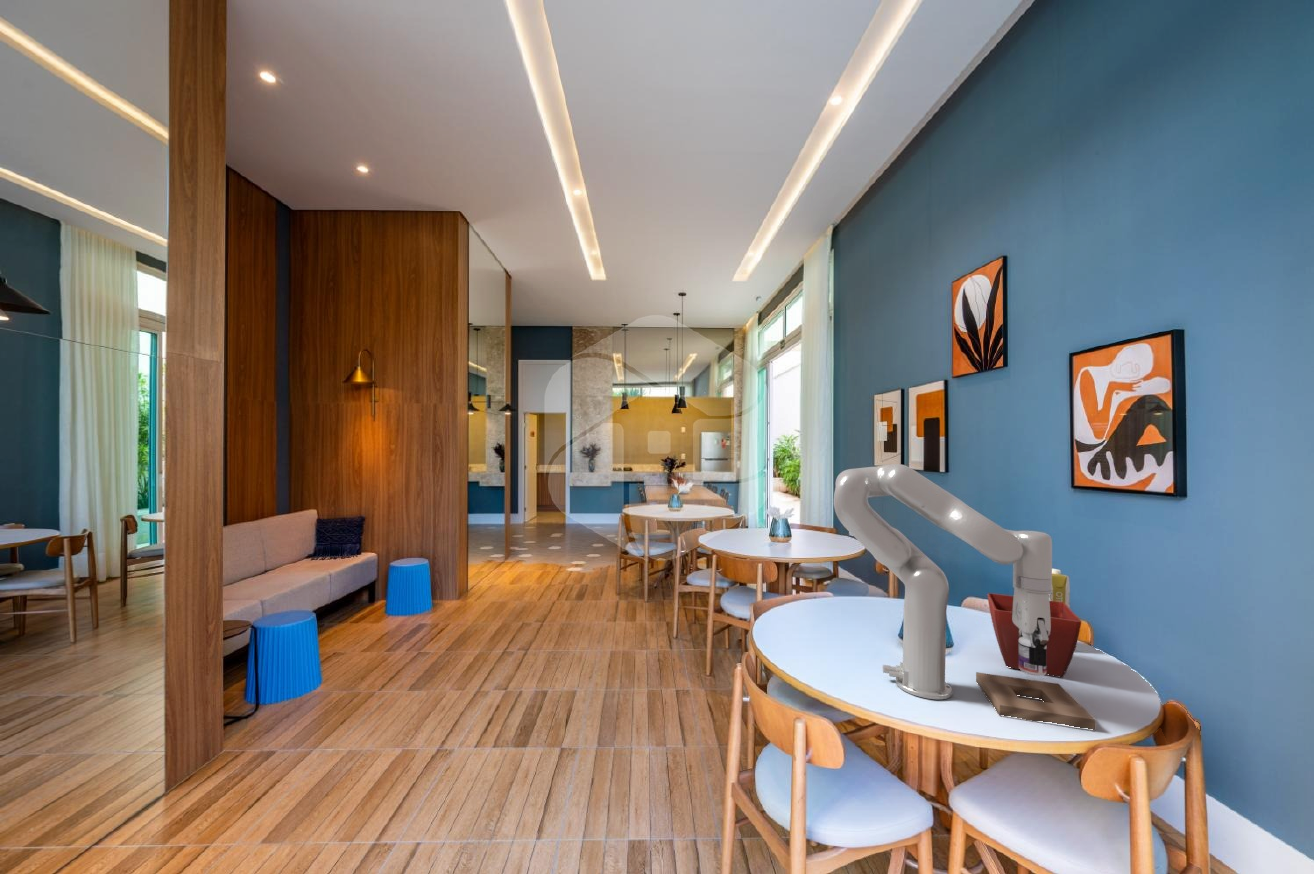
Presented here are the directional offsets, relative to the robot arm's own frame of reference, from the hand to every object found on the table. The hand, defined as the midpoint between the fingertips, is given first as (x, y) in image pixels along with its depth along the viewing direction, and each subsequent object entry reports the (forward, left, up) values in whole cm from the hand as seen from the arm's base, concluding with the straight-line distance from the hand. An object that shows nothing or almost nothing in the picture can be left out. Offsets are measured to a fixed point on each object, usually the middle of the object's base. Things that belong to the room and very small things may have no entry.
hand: (1032, 658), depth 122 cm
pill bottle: (0, 0, -3) cm, 3 cm away
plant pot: (+9, +27, -11) cm, 30 cm away
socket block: (0, 0, -11) cm, 11 cm away
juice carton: (+21, +47, -11) cm, 53 cm away
